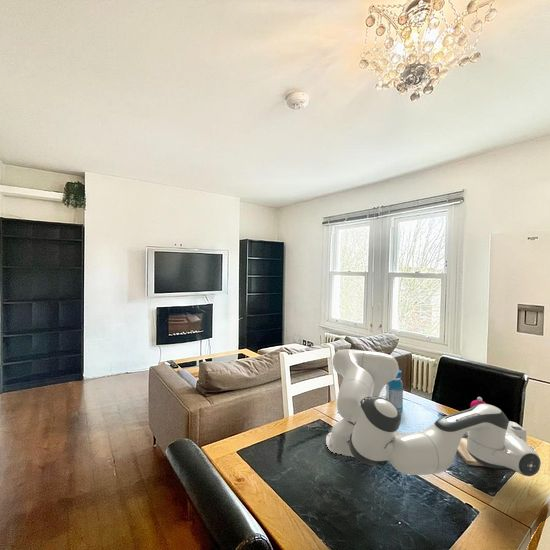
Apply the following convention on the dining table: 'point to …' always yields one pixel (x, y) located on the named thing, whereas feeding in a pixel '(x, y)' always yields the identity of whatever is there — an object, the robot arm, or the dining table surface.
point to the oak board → (466, 453)
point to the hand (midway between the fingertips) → (478, 418)
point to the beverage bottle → (395, 391)
